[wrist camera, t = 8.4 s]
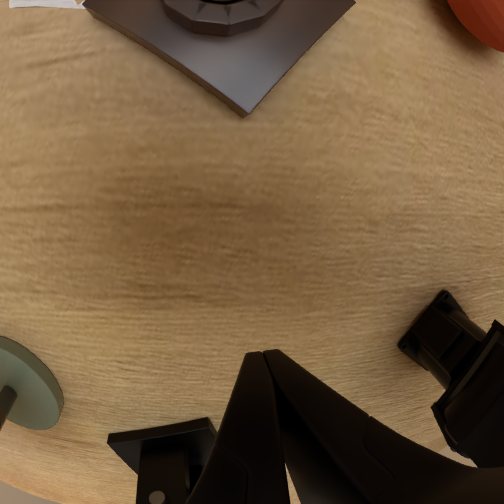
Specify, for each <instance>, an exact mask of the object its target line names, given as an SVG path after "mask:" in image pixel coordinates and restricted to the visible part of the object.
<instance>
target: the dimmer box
mask: <svg viewBox="0 0 504 504" xmlns="http://www.w3.org/2000/svg"><path fill="white" fill-rule="evenodd" d="M355 3H356V2H355V1H354V0H232V1H213V0H85V1H84V2H83V3H82V5H83V6H84V7H85V8H86V9H87V11H88V12H89V13H90V14H91V15H92V16H93V17H95V18H97V19H98V20H100V21H102V22H104V23H105V24H107V25H109V26H110V27H112V28H114V29H116V30H117V31H119V32H121V33H122V34H124V35H126V36H127V37H129V38H130V39H132V40H134V41H135V42H137V43H139V44H140V45H142V46H143V47H145V48H146V49H148V50H150V51H151V52H153V53H154V54H156V55H157V56H159V57H160V58H162V59H163V60H165V61H166V62H168V63H169V64H171V65H172V66H174V67H175V68H177V69H178V70H180V71H181V72H182V73H184V74H185V75H187V76H188V77H190V78H191V79H192V80H194V81H195V82H197V83H198V84H199V85H201V86H202V87H204V88H205V89H206V90H208V91H209V92H210V93H212V94H213V95H215V96H216V97H217V98H219V99H220V100H221V101H223V102H224V103H225V104H227V105H228V106H229V107H230V108H232V109H233V110H234V111H236V112H237V113H238V114H240V115H241V116H242V117H246V116H247V115H249V114H250V113H251V112H252V111H253V110H254V108H255V107H256V106H257V105H258V104H259V103H260V102H261V100H262V99H263V98H264V97H265V96H266V95H267V94H268V92H269V91H270V90H271V89H272V88H273V87H274V86H275V85H276V83H277V82H278V81H279V80H280V79H281V78H282V77H283V76H284V75H285V74H286V73H287V71H288V70H289V69H290V68H291V67H292V66H293V65H294V64H295V63H296V62H297V61H298V60H299V59H300V58H301V57H302V55H303V54H304V53H305V52H306V51H307V50H308V49H309V48H310V47H311V46H312V45H313V44H314V43H315V42H316V41H317V40H318V39H319V38H320V37H321V36H322V35H323V34H324V33H325V32H326V31H327V30H328V29H329V28H330V27H331V26H332V25H333V24H334V23H335V22H336V21H337V20H338V19H339V18H340V17H341V16H342V15H344V14H345V13H346V12H347V11H348V10H349V9H350V8H351V7H352V6H353V5H354V4H355Z"/></svg>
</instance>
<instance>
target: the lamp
mask: <svg viewBox="0 0 504 504" xmlns="http://www.w3.org/2000/svg"><path fill="white" fill-rule="evenodd" d="M63 404H64V402H63V395H62V391H61V389H60V386H59V384H58V382H57V381H56V379H55V377H54V376H53V375H52V373H51V372H50V371H49V369H48V368H47V367H46V366H45V365H44V364H43V363H42V362H41V361H40V360H39V359H38V358H37V357H36V356H35V355H34V354H33V353H31V352H30V351H29V350H27V349H26V348H24V347H23V346H21V345H20V344H18V343H16V342H14V341H12V340H10V339H8V338H5V337H1V336H0V431H1V429H2V427H3V425H4V423H5V421H6V419H8V420H10V421H12V422H14V423H16V424H18V425H20V426H23V427H25V428H29V429H34V430H46V429H49V428H52V427H53V426H54V425H56V423H57V422H58V420H59V417H60V414H61V412H62V409H63Z"/></svg>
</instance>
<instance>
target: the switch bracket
mask: <svg viewBox="0 0 504 504" xmlns="http://www.w3.org/2000/svg"><path fill="white" fill-rule="evenodd" d="M216 436H217V432H216V430H215V429H214V427H213V425H212V424H211V422H210V420H209V418H203V419H199V420H194V421H189V422H184V423H179V424H174V425H168V426H163V427H157V428H151V429H144V430H137V431H130V432H123V433H114V434H109V435H108V440H107V444H108V445H109V446H110V447H111V448H112V449H113V450H114V451H115V452H116V454H117V455H118V456H119V457H120V458H121V459H122V460H123V461H124V462H125V463H126V464H127V465H128V466H129V467H130V468H131V469H132V470H133V471H134V472H135V473H136V474H137V475H138V481H137V494H136V504H185V503H186V501H187V500H188V498H189V496H190V492H191V491H192V490H193V489H194V487H195V485H196V483H197V482H198V480H199V478H200V476H201V474H202V471H203V469H204V467H205V464H206V462H207V460H208V457H209V454H210V452H211V449H212V446H213V445H214V441H215V439H216Z"/></svg>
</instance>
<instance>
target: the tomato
mask: <svg viewBox="0 0 504 504" xmlns="http://www.w3.org/2000/svg"><path fill="white" fill-rule="evenodd" d="M447 1H448V3H449V5H450V7H451V9H452V10H453V12H454V14H455V15H456V16H457V18H458V19H459V21H460V22H461V23H462V24H463V25H464V26H465V28H466V29H467V30H468V31H470V32H471V33H472V34H473V35H474V36H475V37H476V38H478V39H479V40H480V41H482V42H483V43H484V44H486V45H488V46H490V47H492V48H494V49H496V50H498V51H500V52H504V0H447Z"/></svg>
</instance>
